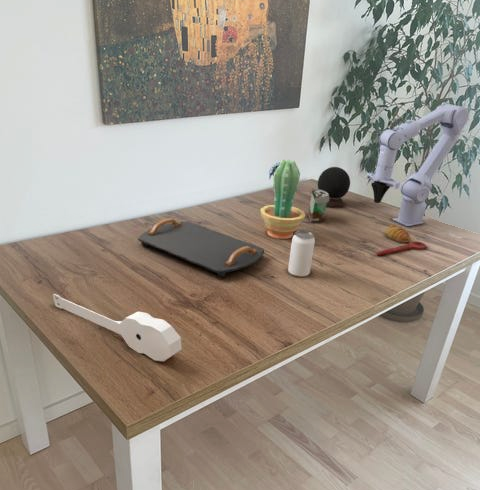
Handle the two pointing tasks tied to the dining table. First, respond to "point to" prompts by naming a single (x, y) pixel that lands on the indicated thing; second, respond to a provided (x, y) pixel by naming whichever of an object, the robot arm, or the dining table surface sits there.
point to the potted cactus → (283, 201)
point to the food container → (317, 205)
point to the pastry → (397, 233)
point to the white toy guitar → (134, 330)
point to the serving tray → (202, 246)
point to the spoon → (403, 248)
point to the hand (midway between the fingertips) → (377, 202)
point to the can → (301, 253)
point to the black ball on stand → (334, 185)
